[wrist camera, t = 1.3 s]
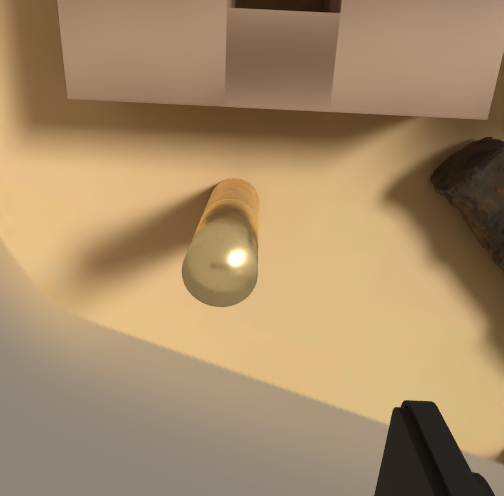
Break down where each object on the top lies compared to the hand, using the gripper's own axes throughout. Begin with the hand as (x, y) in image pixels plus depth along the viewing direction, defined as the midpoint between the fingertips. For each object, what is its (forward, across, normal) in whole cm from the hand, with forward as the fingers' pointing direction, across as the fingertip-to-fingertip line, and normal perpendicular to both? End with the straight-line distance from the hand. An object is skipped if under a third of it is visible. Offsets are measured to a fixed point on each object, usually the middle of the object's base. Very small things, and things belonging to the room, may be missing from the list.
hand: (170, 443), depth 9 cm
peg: (+19, 0, 0) cm, 19 cm away
